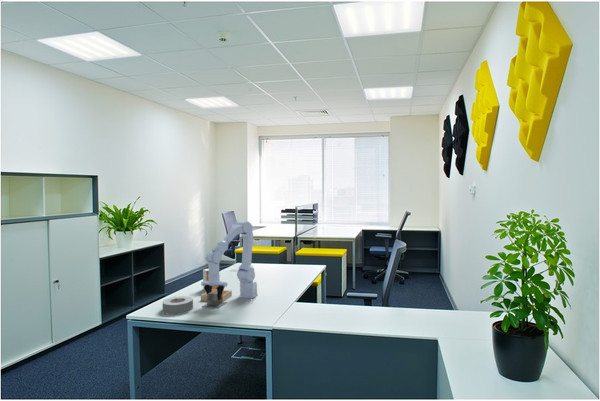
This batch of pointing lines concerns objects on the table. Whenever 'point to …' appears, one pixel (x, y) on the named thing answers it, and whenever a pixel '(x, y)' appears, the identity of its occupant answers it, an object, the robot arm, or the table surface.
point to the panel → (216, 305)
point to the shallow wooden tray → (225, 292)
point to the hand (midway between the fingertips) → (214, 299)
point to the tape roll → (177, 305)
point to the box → (214, 298)
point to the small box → (207, 278)
